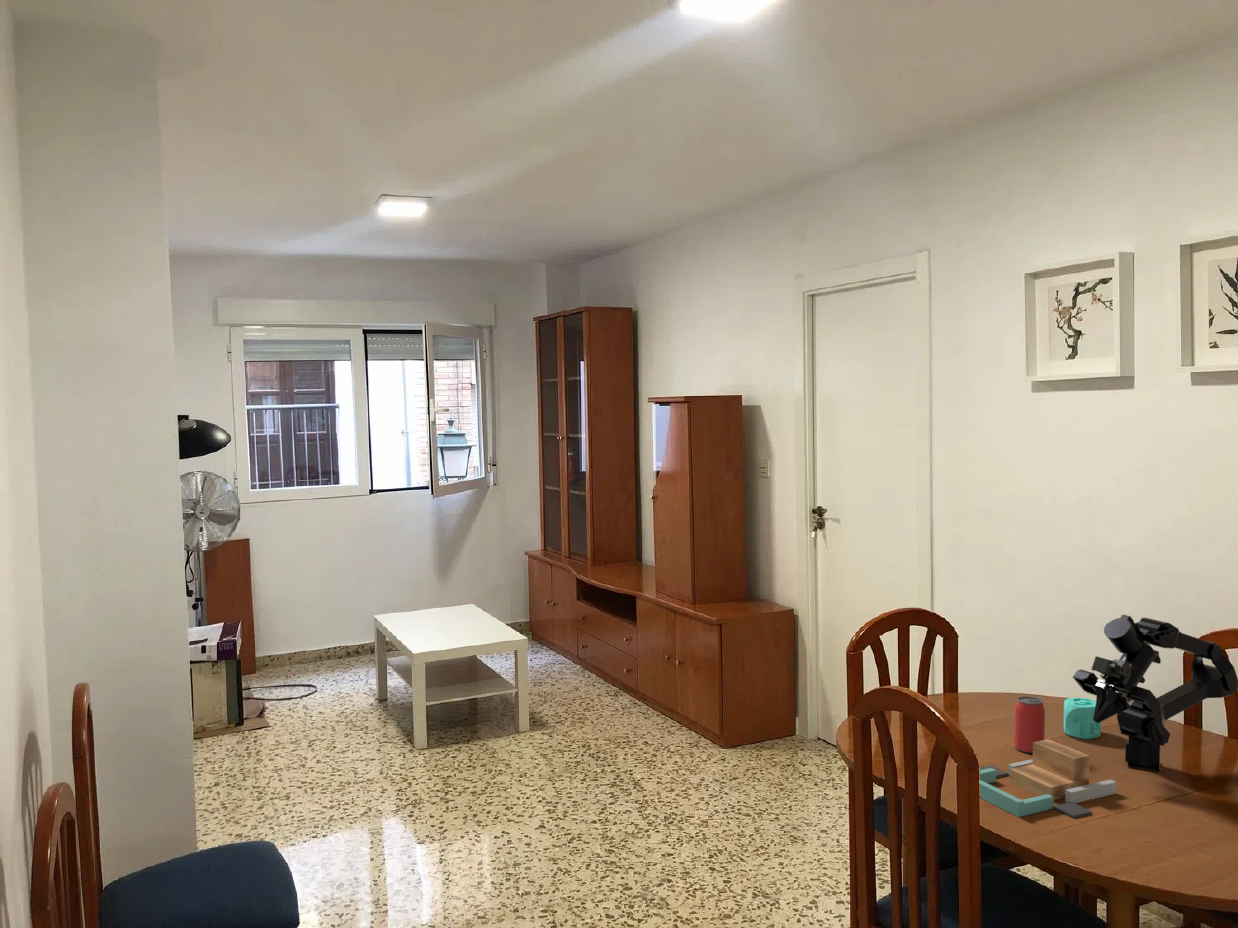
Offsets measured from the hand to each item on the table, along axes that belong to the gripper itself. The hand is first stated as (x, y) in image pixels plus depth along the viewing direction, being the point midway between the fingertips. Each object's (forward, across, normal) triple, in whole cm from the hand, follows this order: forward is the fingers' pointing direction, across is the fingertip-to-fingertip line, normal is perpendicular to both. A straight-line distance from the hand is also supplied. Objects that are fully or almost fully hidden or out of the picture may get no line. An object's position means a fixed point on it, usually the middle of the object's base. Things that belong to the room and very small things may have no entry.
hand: (1095, 721), depth 214 cm
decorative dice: (-5, -21, +23) cm, 32 cm away
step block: (+18, 0, -1) cm, 18 cm away
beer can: (+9, -18, +9) cm, 22 cm away
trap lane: (+21, 0, -4) cm, 21 cm away
